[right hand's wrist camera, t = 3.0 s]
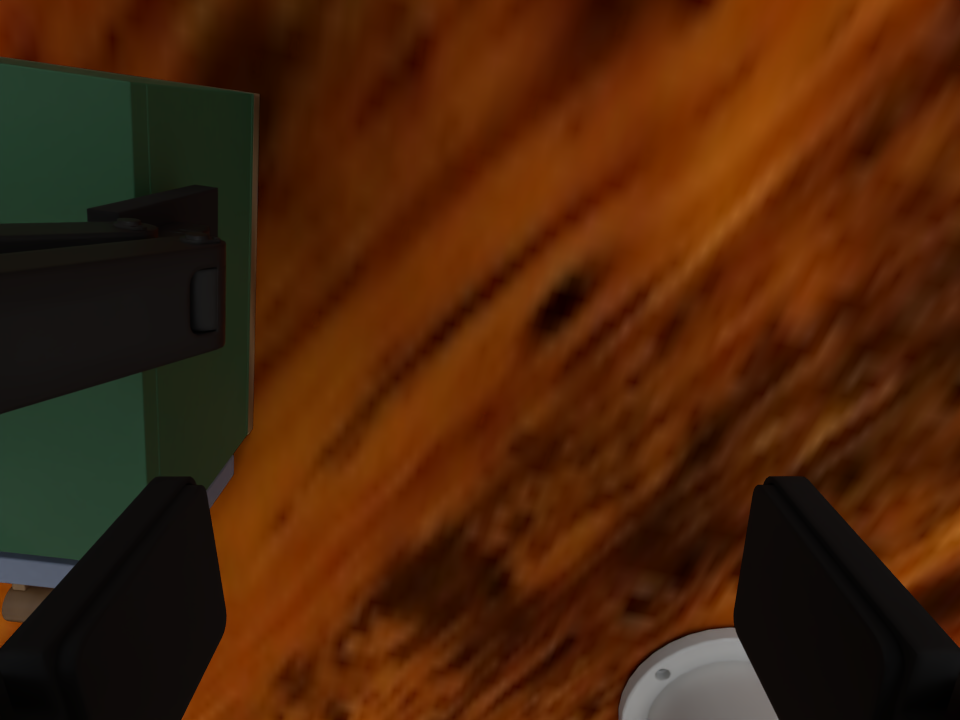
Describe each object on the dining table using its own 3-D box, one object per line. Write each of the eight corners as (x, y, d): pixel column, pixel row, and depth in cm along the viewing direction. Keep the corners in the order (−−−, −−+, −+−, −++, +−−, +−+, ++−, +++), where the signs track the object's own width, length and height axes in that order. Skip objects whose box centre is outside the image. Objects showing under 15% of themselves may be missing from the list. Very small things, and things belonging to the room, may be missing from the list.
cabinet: (253, 428, 35) (150, 569, 24) (41, 402, 35) (-161, 534, 24) (259, 93, 29) (130, 80, 19) (7, 57, 29) (-278, 22, 18)
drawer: (233, 570, 37) (153, 716, 28) (55, 550, 37) (-85, 692, 28) (237, 177, 30) (131, 204, 21) (15, 146, 29) (-192, 160, 20)
